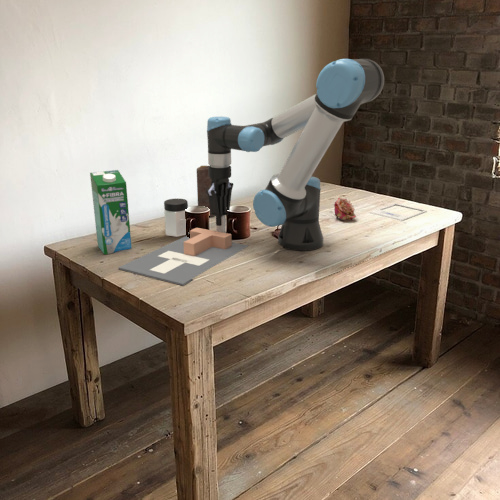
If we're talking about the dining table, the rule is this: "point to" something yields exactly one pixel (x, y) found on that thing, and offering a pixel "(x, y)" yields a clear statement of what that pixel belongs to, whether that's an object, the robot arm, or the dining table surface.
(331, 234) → the dining table surface
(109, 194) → the milk carton
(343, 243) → the dining table surface
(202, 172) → the candle
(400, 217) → the photo frame
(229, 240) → the t block
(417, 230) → the dining table surface
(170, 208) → the jar
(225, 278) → the dining table surface
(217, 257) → the mat
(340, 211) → the flower
